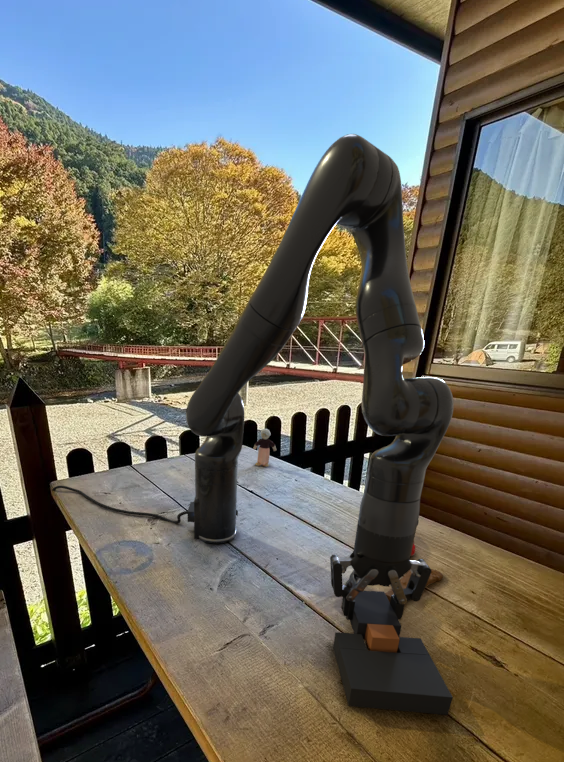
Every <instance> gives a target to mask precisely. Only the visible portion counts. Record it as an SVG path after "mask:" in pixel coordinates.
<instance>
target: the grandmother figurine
mask: <svg viewBox="0 0 564 762" xmlns="http://www.w3.org/2000/svg"><path fill="white" fill-rule="evenodd" d="M271 435H272V434H271V431H270V429H268V428H262V429H261V431H260V437H261V438H259V439H258V440H257V441H256V442H255V443H254V445H253V448H252V449H253V450H257V448H258V450H257V459H256V460H257V461H256V463H255V466H256V467H257V466H258V467H261V466H262V467H267V468H268V467H269V466H270V465H269V462H270V455H271V454H270V451H271V450H270V447H271V448H272V450H273V452H276V451H277V447H276V443H274V441H272V440H271V439H269V438H270V436H271Z"/></svg>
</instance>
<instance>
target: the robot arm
mask: <svg viewBox="0 0 564 762" xmlns="http://www.w3.org/2000/svg"><path fill="white" fill-rule="evenodd" d="M403 206H404V205H403V188H402V179H401V173H400V169H399V167H398V165H397V164H396V162H395V161H394V160H393V158H392V157H391V156H390V155H388V154H387V153H385V152H384V151H383V150H381V149H380V148H378V147H377V146H376V145H374V144H373V143H372V142H370V141H368V140H367V139H365V138H364V137H363V136H361V135H359V134H357V133H348V134H345V135H343V136H341V137H339V138H337V140H335V141H334V142H333V143H331V145H330V146H329V147H328V148H327V149H326V151H325V152H324V153H323V155H322V156H321V157H320V159H319V161H318V162H317V164H316V166H315V167H314V169H313V171H312V173H311V175H310V177H309V179H308V181H307V183H306V185H305V188H304V190H303V191H302V194H301V196H300V199H299V200H298V203H297V205H296V208H295V210H294V212H293V214H292V217H291V219H290V221H289V223H288V226H287V228H286V230H285V232H284V234H283V236H282V238H281V241H280V243H279V244H278V247H277V249H276V251H275V253H274V255H273V256H272V258H271V260H270V262H269V264H268V266H267V267H266V270H265V272H264V273H263V275H262V277H261V279H260V281H259V283H258V284H257V286H256V288H255V289H254V291H253V292H252V294H251V296H250V297H249V300H248V301H247V303H246V305H245V306H244V308H243V310H242V312H241V314H240V316H239V318H238V319H237V322H236V323H235V326H234V328H233V330H232V331H231V333H230V335H229V337H228V338H227V339H226V342H225V344H224V345H223V347H222V348H221V351H220V352H219V354H218V356H217V357H216V359H215V361H214V362H213V365H212V366H211V368H210V369H209V371H208V372H207V374H206V375H205V377H203V379H202V380H201V382H200V384H199V385H198V386H197V388H196V389H195V390H194V392H193V393H192V395H191V396H190V398H189V400H188V402H187V406H186V409H185V410H186V411H185V419H186V423H187V426H188V428H189V430H190V431H191V433H193V434H195V435H196V436H199V437H205V440H204V441H203V442H202V444H201V445H200V446H199V447H198V448H196V449H195V453H194V499H193V501H190V503H189V505H188V509H187V510H185V511H181V512H179V513H177V516H176V519H177V520H173V519H169V518H168V517H167V518H166V517H164V516H163V515H159V514H156V513H152V512H143V511H142V512H141V511H130V510H126V509H120V508H115V507H112V506H109V505H106V504H103V503H102V502H100V501H97V500H96V499H94V498H93V497H91V496H89V495H88V494H86V493H84V492H83V491H81V490H79V489H77V488H73V487H70V486H67V485H56V486H54V487H52V489H51V491H52V492H54V491H56V490H59V489H63V490H67V491H68V490H69V491H71V492H75V493H77V494H80V495H81V496H83V497H84V498H85V499H87V500H89V501H90V502H92V503H94V504H95V505H97V506H99V507H102V508H104V509H107V510H110V511H113V512H115V513H116V512H117V513H120V514H126V515H133V516H144V517H145V516H146V517H151V518H156V519H159V520H161V521H165V522H168V523H172V524H174V525H177V524H180V523H181V521H182V520H181V517H182V516H185V515H187V522H188V523H193V539H194V540H199V541H201V542H204V543H206V544H215V545H216V544H217V545H218V544H226V543H229V542H231V541H232V540H234V539H235V538H236V537H237V517H238V516H239V510H237V503H238V502H237V499H238V498H237V497H238V465H239V464H238V463H239V457H240V454H241V452H242V449H243V442H244V429H245V405H244V402H243V399H242V396H241V395H240V391H241V390H242V389H243V388H244V387H245V385H247V383H248V382H249V381H250V380H252V379H253V378H254V377H256V375H258V374H259V373H260V372H261V371H262V370H263V369H264V368H265V367H267V365H269V364H270V363H271V362H272V361H273V360H274V359H275V358H276V357H277V356H278V355H279V354H280V352H282V350H283V349H284V347H285V346H286V344H287V343H288V342H289V340H290V339H291V337H292V335H293V334H294V332H295V331H296V330H297V328H298V326H299V325H300V323H301V321H302V320H303V317H304V314H305V311H306V306H307V301H308V295H309V285H310V280H311V279H310V278H311V274H312V269H313V266H314V263H315V260H316V259H317V256H318V254H319V252H320V251H321V249H322V247H323V245H324V243H325V242H326V240H327V238H328V236H330V234H331V232H332V230H333V229H334V227H335V226H336V225H337V226H339V227H341V228H343V229H346V230H349V232H350V233H351V236H352V237H353V240H354V242H355V244H356V248H357V250H358V253H359V257H360V258H359V259H360V268H361V269H360V270H361V271H360V277H359V282H358V286H357V291H356V298H355V314H356V315H355V316H356V323H357V327H358V332H359V337H360V341H361V346H362V350H363V353H364V364H363V379H362V380H363V381H362V392H361V413H362V416H363V419H364V421H365V423H366V424H367V426H368V428H369V429H370V430H372V432H373V433H375V434H377V435H379V436H384V437H393V436H395V437H394V439H393V441H392V442H391V443H390V444H388V445H387V446H383V447H381V448H379V449H376V450H375V451H374V452H372V453H371V455H370V456H369V461H368V464H367V465H368V466H367V470H366V477H365V484H364V490H363V494H362V497H361V500H360V505H359V511H358V518H357V525H356V532H355V538H354V545H353V551H352V552H351V553H350V555H349V556H345V557H339V555H338V554H332V555H331V556H330V557H329V559H330V560H329V561H330V562H329V563H330V580H331V581H330V584H331V588H332V590H333V595H334V596H335V598H342V599H341V606H340V608H341V612H342V614H343V617H345V618H346V621H350V620H352V617H353V611H354V607H355V600H354V599H355V597H356V596H357V595H358V594H359V592H363V591H365V590H366V588H367V587H368V586H371V587H372V586H382V587H388V588H389V587H390V589H392V591H393V593H394V595H391V600H390V604H391V606H392V608H393V610H394V612H395V614H396V616H397V618H398V620H399V621H400V620H401V619H402V618H403V614H404V610H405V605H406V604H407V603H408V602H410V601H412V602H419V601H421V598H422V596H423V594H424V591H425V589H426V587H425V586H426V584H427V582H428V579H429V577H430V574H431V569H432V568H430V566H429V565H428V563H427V562H426V561H425V560H424V559H423V558H418V559H417V560H411V559H410V558H411V557H412V556H411V552H412V547H413V542H414V543H415V537H416V532H417V527H418V525H419V518H420V512H421V511H420V510H421V497H422V492H423V487H424V483H425V478H426V472H427V469H428V466H429V465H430V463H431V462H432V460H433V458H434V456H435V455H436V452H437V451H438V448H439V447H440V445H441V442H442V441H443V438H444V437H445V435H446V433H447V431H448V428H449V427H450V425H451V421H452V419H453V414H454V407H455V405H454V403H455V402H454V397H453V393H452V390H451V388H450V386H449V385H448V384H447V383H446V382H445V381H444V380H443V379H441V378H438V377H432V376H425V377H424V376H423V377H422V376H421V377H408V378H404V377H403V365H405V364H408V363H410V362H412V361H414V360H415V359H417V358H418V357H419V356H420V355H421V354H422V352H423V351H424V348H425V340H424V333H423V329H422V325H421V321H420V317H419V313H418V308H417V304H416V300H415V296H414V293H413V288H412V283H411V279H410V274H409V266H408V261H407V260H408V259H407V252H406V251H407V250H406V239H405V225H404V210H403V208H404V207H403ZM349 567H351V568H352V569H353V570H352V572H351V573H350V574H349V577H348V580H347V581H346V582H345V583H344V584H343V574H345V573H346V572H347V569H348V568H349ZM409 570H410V571H411V573H412V574H411V576H410V579H409V582H408V584H407V587H406V588H405V589H403V588H402V585H401V583H400V580H401V579H402V578H403V577H404V575H406V574H407V573H408V572H409Z"/></svg>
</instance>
